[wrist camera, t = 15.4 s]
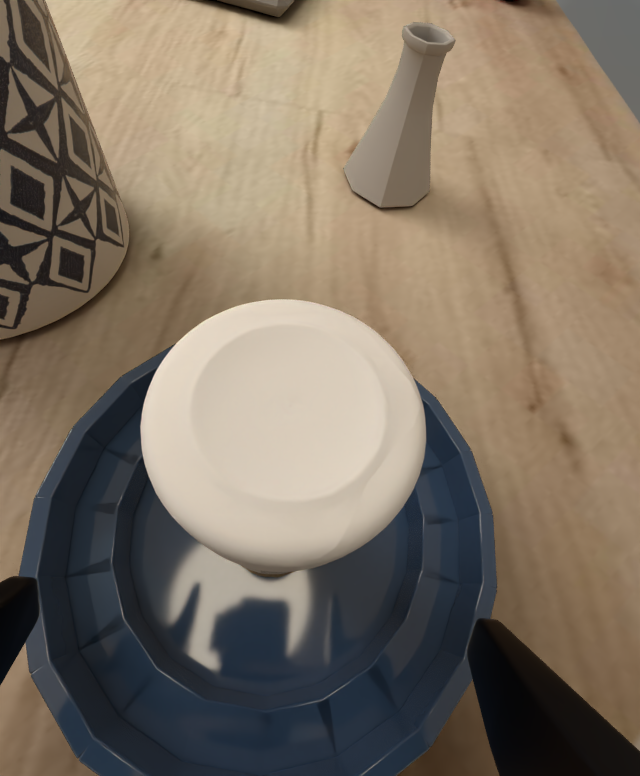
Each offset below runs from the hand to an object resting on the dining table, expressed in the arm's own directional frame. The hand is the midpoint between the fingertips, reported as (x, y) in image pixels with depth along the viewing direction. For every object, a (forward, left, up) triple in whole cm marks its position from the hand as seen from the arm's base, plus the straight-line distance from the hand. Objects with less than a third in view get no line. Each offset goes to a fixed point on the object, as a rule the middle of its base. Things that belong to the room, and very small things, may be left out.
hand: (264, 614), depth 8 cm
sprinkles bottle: (+3, 0, -10) cm, 10 cm away
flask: (+32, -3, -10) cm, 34 cm away
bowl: (+3, 0, -10) cm, 11 cm away
